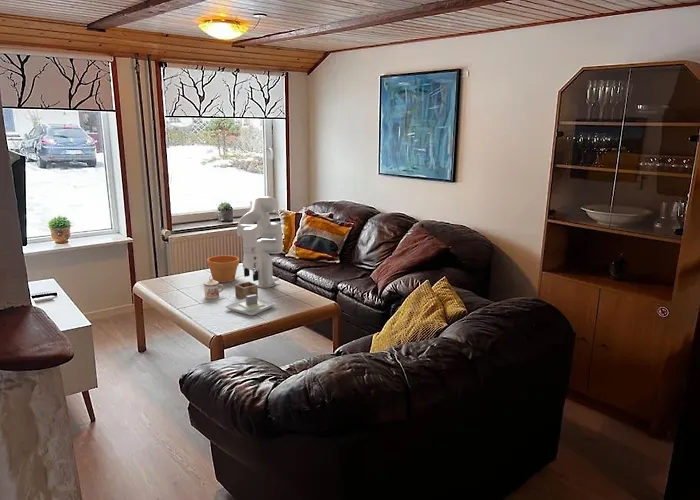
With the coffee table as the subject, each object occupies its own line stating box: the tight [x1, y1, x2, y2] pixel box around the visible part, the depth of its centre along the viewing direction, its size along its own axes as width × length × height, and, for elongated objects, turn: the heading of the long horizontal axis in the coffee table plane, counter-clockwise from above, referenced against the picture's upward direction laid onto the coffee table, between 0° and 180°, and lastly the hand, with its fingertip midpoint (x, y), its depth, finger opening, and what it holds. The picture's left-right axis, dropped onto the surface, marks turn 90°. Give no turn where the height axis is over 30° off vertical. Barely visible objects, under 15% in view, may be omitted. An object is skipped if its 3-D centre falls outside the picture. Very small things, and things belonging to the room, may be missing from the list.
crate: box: [234, 281, 259, 300], centre depth 335 cm, size 10×10×8 cm
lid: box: [239, 294, 265, 310], centre depth 312 cm, size 11×11×6 cm
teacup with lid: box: [203, 278, 224, 300], centre depth 335 cm, size 12×9×12 cm
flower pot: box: [206, 254, 240, 283], centre depth 370 cm, size 21×21×15 cm
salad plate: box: [225, 297, 277, 316], centre depth 315 cm, size 21×21×3 cm
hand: (251, 278), depth 309 cm, fingers open, 9 cm apart
